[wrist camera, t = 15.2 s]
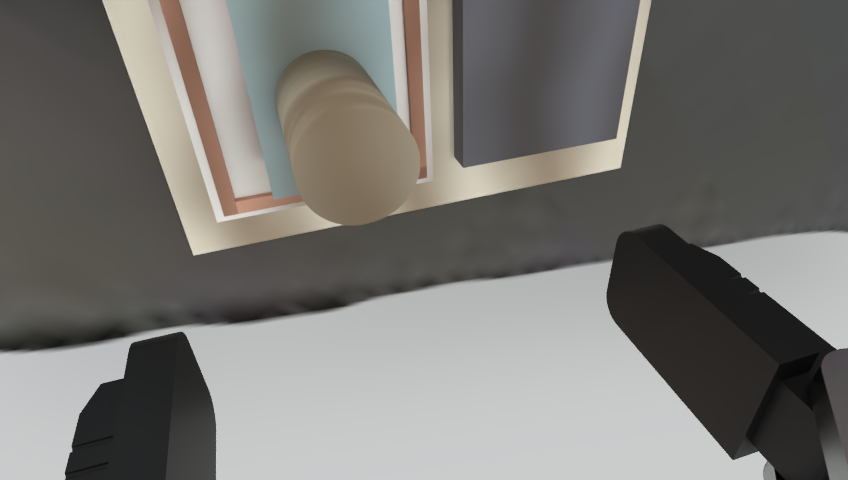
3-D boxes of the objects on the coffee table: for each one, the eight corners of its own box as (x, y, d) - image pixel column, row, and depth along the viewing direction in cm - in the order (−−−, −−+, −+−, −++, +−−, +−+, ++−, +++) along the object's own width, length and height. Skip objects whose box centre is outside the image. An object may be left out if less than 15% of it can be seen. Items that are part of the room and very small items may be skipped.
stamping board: (667, -182, 22) (707, -185, 20) (610, 160, 30) (633, 178, 29) (54, -154, 17) (36, -156, 15) (194, 243, 26) (192, 271, 24)
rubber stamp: (364, -34, 20) (445, 23, 13) (381, 140, 24) (450, 255, 17) (224, -20, 19) (231, 50, 12) (266, 161, 23) (290, 291, 16)
